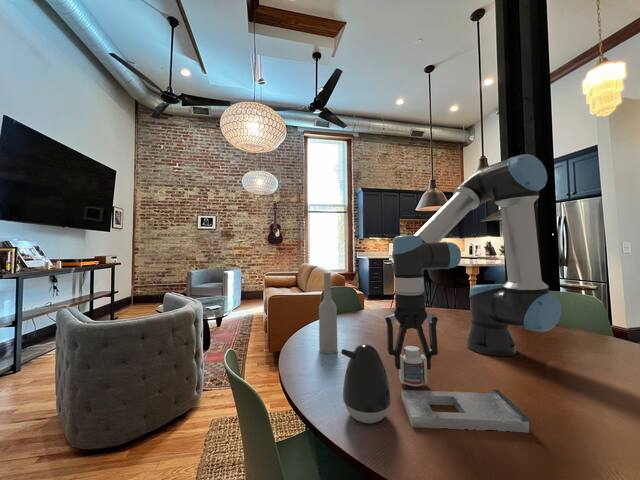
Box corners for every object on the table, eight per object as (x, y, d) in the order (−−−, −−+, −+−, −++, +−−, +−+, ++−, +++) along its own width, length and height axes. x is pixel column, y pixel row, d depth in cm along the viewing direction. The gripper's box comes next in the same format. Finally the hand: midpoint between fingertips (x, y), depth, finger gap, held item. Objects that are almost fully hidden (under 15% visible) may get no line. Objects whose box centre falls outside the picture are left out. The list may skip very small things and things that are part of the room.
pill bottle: (425, 387, 70) (423, 352, 71) (404, 386, 71) (402, 351, 72) (422, 378, 76) (420, 345, 76) (402, 377, 77) (400, 344, 77)
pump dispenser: (339, 404, 64) (337, 338, 65) (382, 402, 65) (380, 336, 66) (346, 433, 54) (345, 354, 55) (398, 429, 55) (396, 351, 56)
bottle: (320, 347, 104) (319, 272, 106) (337, 347, 104) (336, 272, 105) (318, 353, 98) (317, 273, 99) (337, 354, 97) (335, 273, 98)
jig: (498, 402, 64) (497, 389, 65) (529, 432, 54) (528, 417, 54) (401, 398, 67) (401, 386, 67) (412, 427, 56) (411, 412, 56)
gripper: (440, 290, 77) (444, 375, 76) (373, 291, 79) (377, 374, 78) (449, 294, 70) (454, 388, 69) (376, 295, 72) (380, 387, 71)
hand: (413, 381), depth 73 cm, fingers closed on pill bottle, 5 cm apart
